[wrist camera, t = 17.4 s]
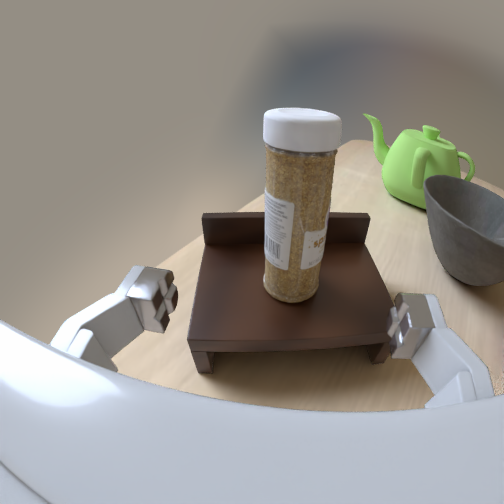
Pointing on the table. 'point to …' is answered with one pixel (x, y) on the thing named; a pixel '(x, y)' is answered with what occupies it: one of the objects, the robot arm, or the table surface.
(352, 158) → the table surface
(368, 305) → the shelf
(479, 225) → the bowl
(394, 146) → the teapot
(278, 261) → the sprinkles bottle
